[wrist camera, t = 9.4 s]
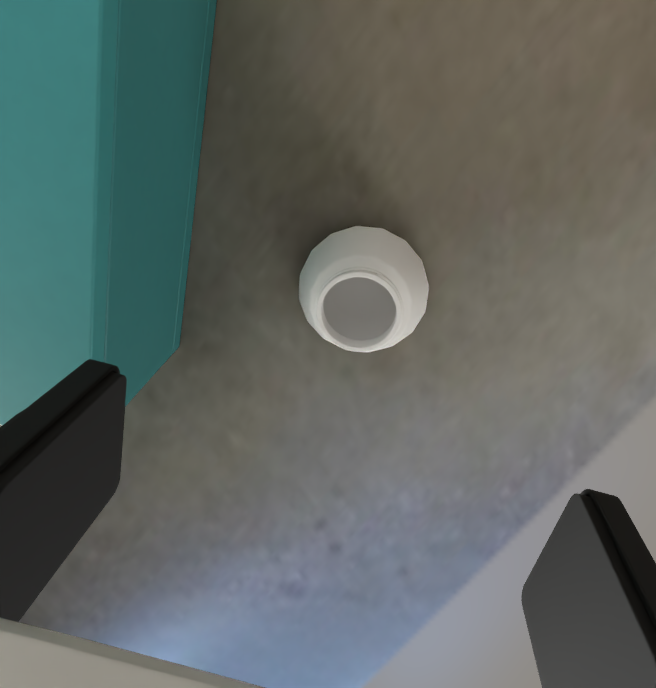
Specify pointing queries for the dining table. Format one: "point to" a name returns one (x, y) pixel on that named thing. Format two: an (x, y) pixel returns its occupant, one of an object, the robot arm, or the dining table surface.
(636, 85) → the dining table surface
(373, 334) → the white jar
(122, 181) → the box
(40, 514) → the robot arm
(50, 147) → the lunchbox lid
